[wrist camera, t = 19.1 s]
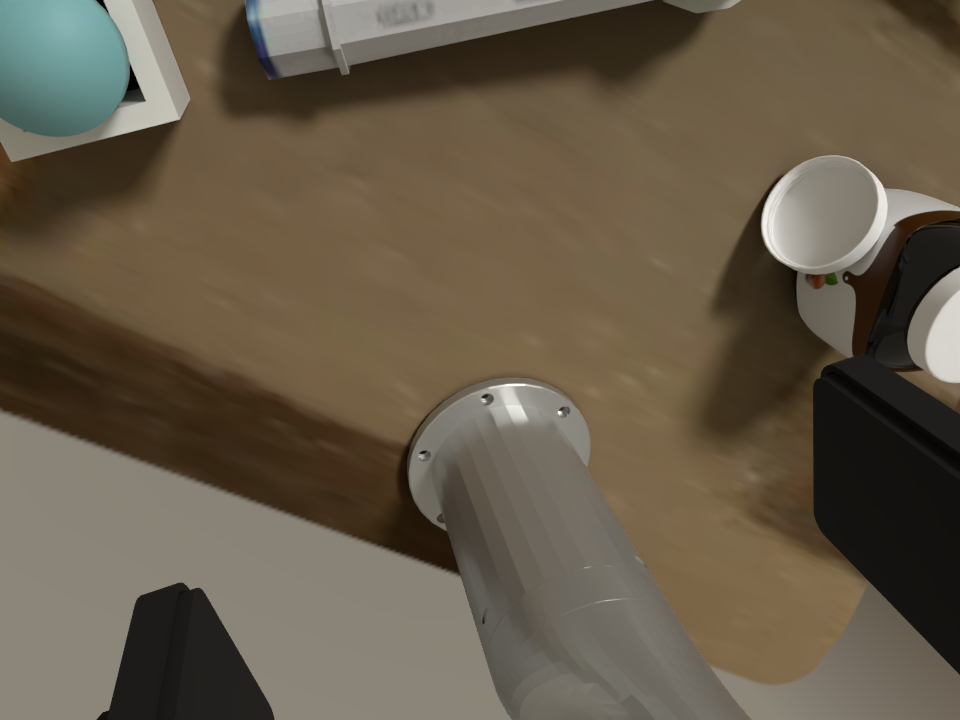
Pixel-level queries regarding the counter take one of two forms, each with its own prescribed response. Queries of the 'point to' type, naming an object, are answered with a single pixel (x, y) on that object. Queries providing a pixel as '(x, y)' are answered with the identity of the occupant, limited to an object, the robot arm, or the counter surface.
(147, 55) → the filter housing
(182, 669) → the robot arm
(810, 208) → the spread jar
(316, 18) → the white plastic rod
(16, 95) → the teal mushroom knob
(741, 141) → the counter surface
